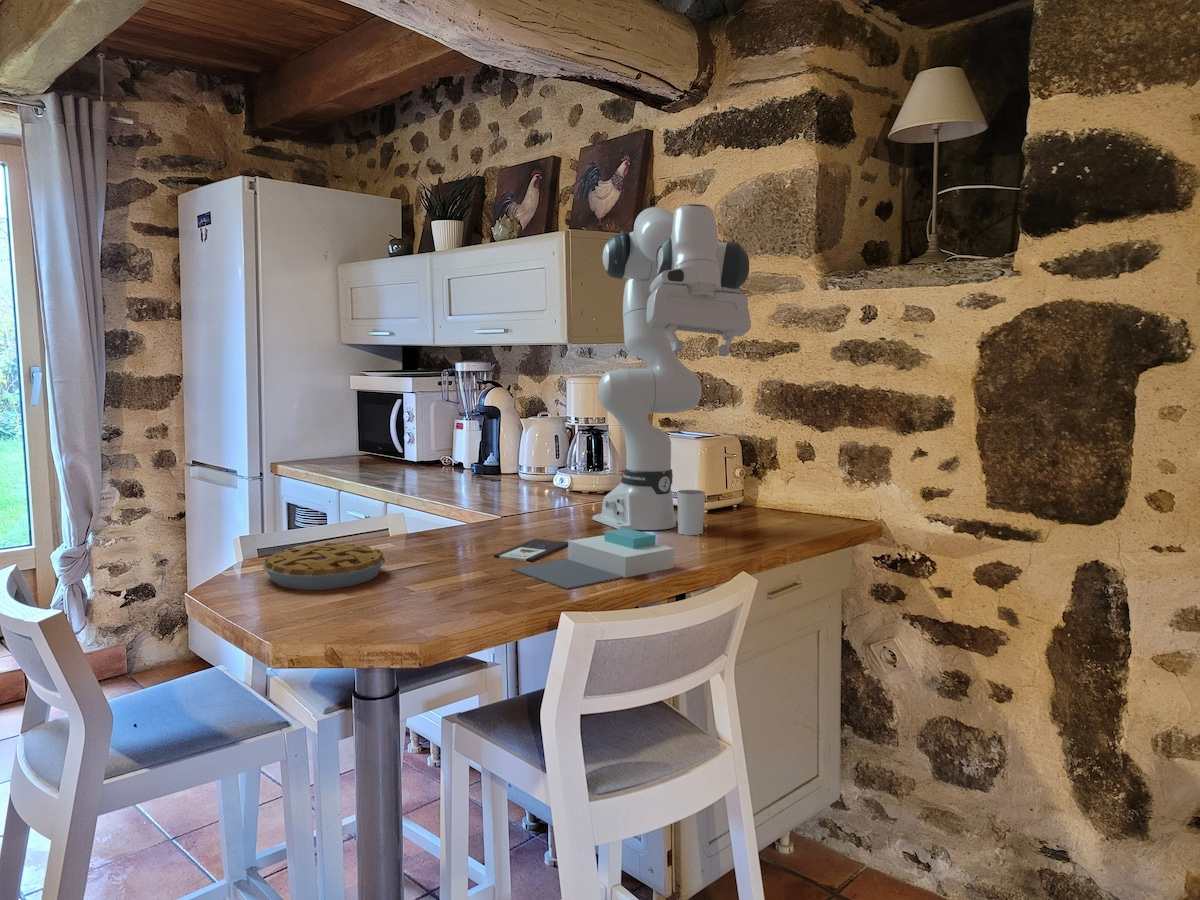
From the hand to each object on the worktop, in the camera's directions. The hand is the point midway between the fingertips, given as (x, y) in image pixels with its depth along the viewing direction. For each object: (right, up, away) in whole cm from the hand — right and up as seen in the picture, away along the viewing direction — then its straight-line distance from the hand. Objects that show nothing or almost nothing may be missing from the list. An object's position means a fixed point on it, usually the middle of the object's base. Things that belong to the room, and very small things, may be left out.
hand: (701, 353), depth 163 cm
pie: (-71, -42, +4) cm, 83 cm away
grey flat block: (-15, -41, +16) cm, 47 cm away
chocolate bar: (-33, -40, +27) cm, 59 cm away
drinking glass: (+3, -38, +47) cm, 61 cm away
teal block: (-13, -37, +17) cm, 43 cm away
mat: (-25, -42, +7) cm, 50 cm away
